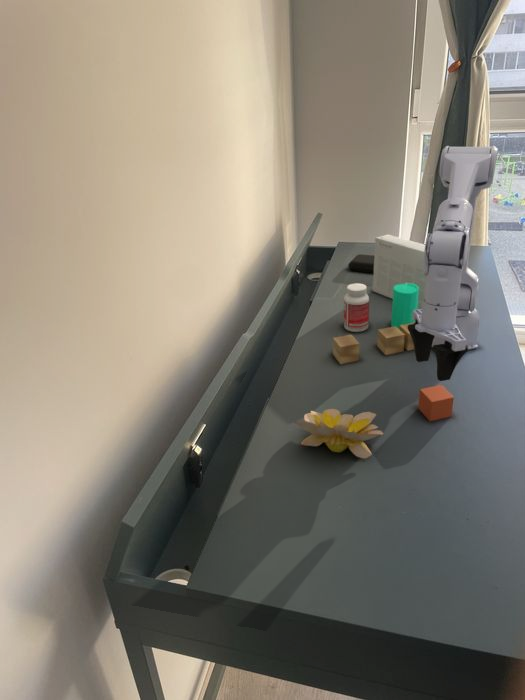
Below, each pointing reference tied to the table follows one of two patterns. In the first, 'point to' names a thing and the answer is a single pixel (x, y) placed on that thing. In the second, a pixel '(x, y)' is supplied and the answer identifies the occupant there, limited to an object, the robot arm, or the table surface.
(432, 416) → the orange block
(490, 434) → the table surface
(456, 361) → the robot arm
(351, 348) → the block
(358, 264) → the carrying case
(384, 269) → the skincare box
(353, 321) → the pill bottle
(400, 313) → the candle
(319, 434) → the decorative flower
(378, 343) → the block
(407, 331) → the block
